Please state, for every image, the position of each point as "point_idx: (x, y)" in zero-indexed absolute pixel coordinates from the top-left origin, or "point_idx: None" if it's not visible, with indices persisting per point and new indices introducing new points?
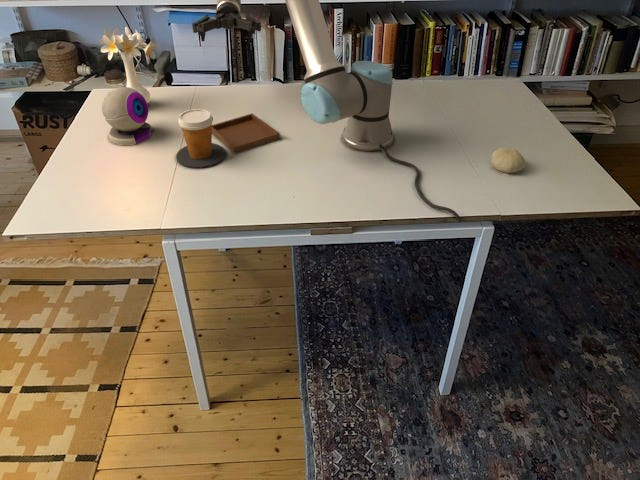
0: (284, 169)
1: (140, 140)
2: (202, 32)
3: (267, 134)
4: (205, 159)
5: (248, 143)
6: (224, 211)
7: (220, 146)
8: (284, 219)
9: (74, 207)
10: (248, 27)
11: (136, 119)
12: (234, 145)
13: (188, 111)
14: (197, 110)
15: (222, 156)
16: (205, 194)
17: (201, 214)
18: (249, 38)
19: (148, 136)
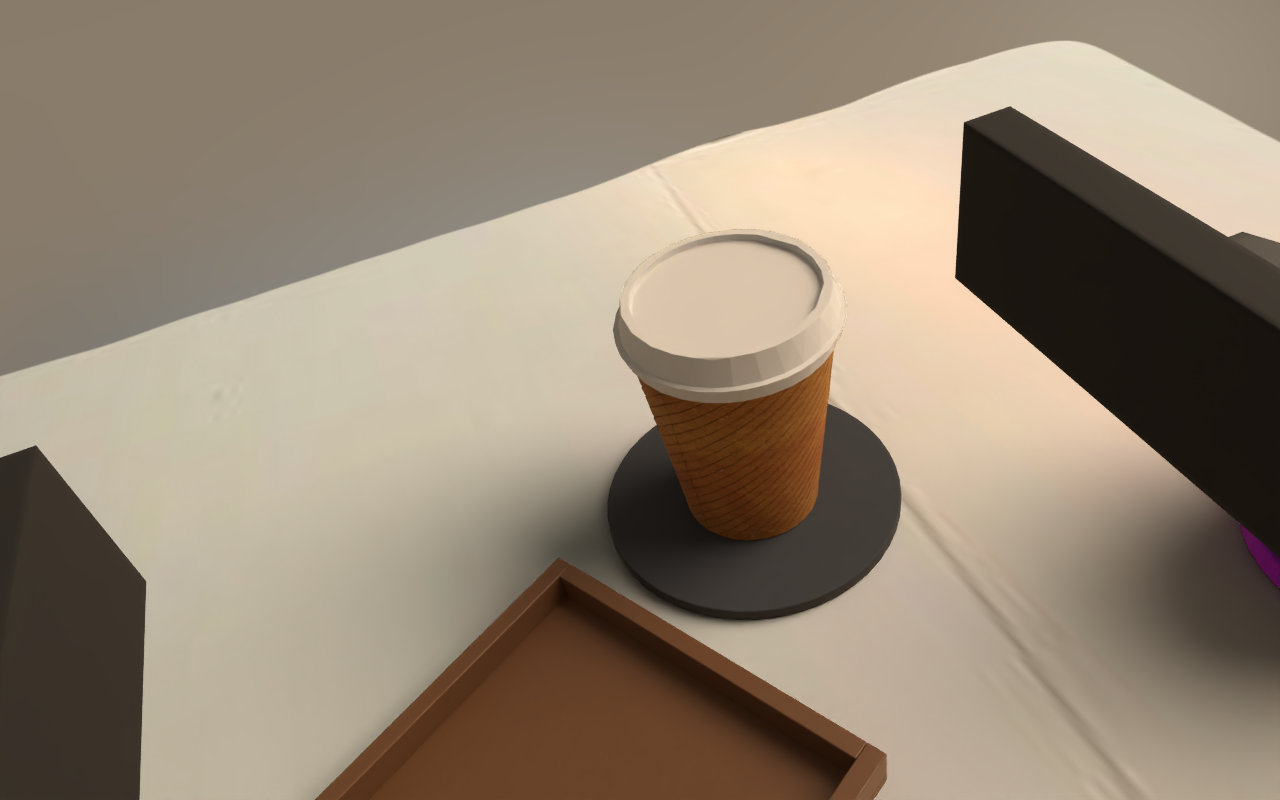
0: (259, 541)
1: None
2: (972, 130)
3: None
4: None
5: (484, 631)
6: (474, 265)
7: (676, 594)
8: (256, 301)
9: None
10: (1, 612)
11: None
12: (566, 577)
13: (809, 317)
14: (758, 349)
15: (616, 511)
16: (580, 301)
17: (548, 233)
18: (117, 564)
19: (1255, 557)
